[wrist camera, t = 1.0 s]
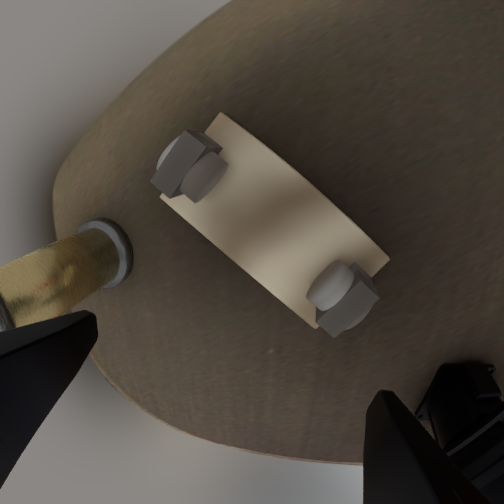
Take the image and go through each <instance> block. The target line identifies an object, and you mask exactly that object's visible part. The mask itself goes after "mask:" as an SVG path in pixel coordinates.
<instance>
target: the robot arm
mask: <svg viewBox="0 0 504 504" xmlns="http://www.w3.org/2000/svg"><path fill="white" fill-rule="evenodd" d="M97 338H98V328H97V319H96V316H95V314H94V313H92V312H89V311H87V310H82V311H78V312H74V313H71V314H67V315H63V316H59V317H55V318H51V319H48V320H44V321H40V322H36V323H32V324H28V325H24V326H21V327H17V328H13V329H9V330H5V331H1V332H0V489H1V487H2V485H3V484H4V482H5V480H6V479H7V477H8V475H9V473H10V472H11V470H12V469H13V467H14V466H15V464H16V462H17V460H18V459H19V457H20V456H21V454H22V453H23V451H24V449H25V448H26V446H27V445H28V443H29V442H30V440H31V439H32V437H33V436H34V434H35V433H36V431H37V430H38V428H39V427H40V425H41V424H42V422H43V421H44V420H45V418H46V417H47V415H48V414H49V412H50V411H51V409H52V408H53V407H54V405H55V403H56V402H57V401H58V399H59V398H60V397H61V395H62V394H63V392H64V391H65V390H66V388H67V387H68V386H69V384H70V383H71V381H72V380H73V379H74V377H75V376H76V374H77V373H78V371H79V370H80V368H81V366H82V365H83V362H84V361H85V359H86V358H87V356H88V354H89V353H90V351H91V349H92V348H93V346H94V344H95V343H96V341H97ZM444 370H445V371H444ZM495 371H496V368H495V367H494V365H451V364H446V365H443V366H441V367H440V369H439V371H438V373H437V375H436V377H435V379H434V381H433V383H432V384H431V386H430V388H429V390H428V392H427V394H426V396H425V397H424V399H423V401H422V403H421V404H420V406H419V408H418V410H417V411H416V413H415V416H414V415H413V414H412V413H411V412H410V411H409V410H408V408H407V407H406V406H405V405H404V404H403V403H402V401H401V400H400V399H399V398H398V397H397V396H396V395H395V393H394V392H392V391H389V390H379V391H378V392H377V394H376V396H375V397H374V399H373V400H372V402H371V404H370V405H369V407H368V409H367V413H366V427H365V440H364V452H363V478H364V479H363V483H364V484H363V504H504V401H503V402H502V400H501V398H500V397H501V395H502V393H501V391H500V389H499V387H498V385H497V384H496V382H495V380H494V379H493V375H494V373H495ZM418 420H430V423H431V427H432V430H433V434H434V437H435V440H434V439H433V437H432V436H431V435H430V434H429V433H428V432H427V430H426V429H425V428H424V427H423V426H422V425H421V423H420V422H419V421H418Z"/></svg>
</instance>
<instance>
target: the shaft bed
mask: <svg viewBox="0 0 504 504" xmlns="http://www.w3.org/2000/svg"><path fill="white" fill-rule="evenodd" d="M156 169H157V171H156V173H155V174H154V176H153V177H152V179H151V181H150V182H151V183H152V184H153V185H154V186H155V187H156V188H158V189H159V190H160V191H161V192H162V194H161V196H160V198H161V199H162V200H163V201H164V202H166V203H167V204H168V205H169V206H170V207H171V208H172V209H174V210H175V211H176V212H177V213H178V214H179V215H181V216H182V217H183V218H184V219H185V220H186V221H187V222H189V223H190V224H191V225H192V226H193V227H194V228H196V229H197V230H198V231H199V232H200V233H201V234H203V235H204V236H205V237H206V238H207V239H208V240H210V241H211V242H212V243H213V244H214V245H215V246H217V247H218V248H219V249H220V250H221V251H222V252H224V253H225V254H226V255H227V256H228V257H229V258H231V259H232V260H233V261H234V262H235V263H237V264H238V265H239V266H240V267H241V268H242V269H244V270H245V271H246V272H247V273H248V274H250V275H251V276H252V277H253V278H254V279H255V280H257V281H258V282H259V283H260V284H261V285H263V286H264V287H265V288H266V289H267V290H269V291H270V292H271V293H272V294H273V295H275V296H276V297H277V298H278V299H279V300H281V301H282V302H283V303H284V304H285V305H287V306H288V307H289V308H290V309H291V310H293V311H294V312H295V313H296V314H297V315H299V316H300V317H301V318H302V319H303V320H305V321H306V322H307V323H308V324H310V325H311V326H312V327H313V328H314V329H317V328H318V327H319V326H320V327H321V328H322V329H324V330H325V331H326V332H327V333H329V334H330V335H331V336H332V337H333V338H335V337H337V336H338V335H339V334H340V333H341V332H343V331H344V330H347V329H350V328H353V327H354V326H356V325H357V324H358V323H360V322H361V321H362V320H363V319H364V318H365V317H366V316H367V314H368V313H369V312H370V310H371V308H372V306H373V304H374V303H375V302H376V301H377V300H378V299H379V295H378V292H377V290H376V287H375V285H374V282H373V280H372V277H373V276H374V275H375V274H376V273H377V272H378V271H379V270H380V269H381V268H382V267H383V266H384V265H385V264H386V263H387V262H388V261H389V260H390V258H389V257H388V255H387V254H386V253H385V252H384V251H383V250H382V249H381V248H380V247H379V246H378V245H377V244H376V243H375V242H374V241H373V240H372V239H371V238H370V237H369V236H368V235H367V234H365V233H364V232H363V231H362V230H361V229H360V228H359V227H358V226H357V225H356V224H355V223H354V222H353V221H352V220H351V219H350V218H349V217H348V216H347V215H346V214H344V213H343V212H342V211H341V210H340V209H339V208H338V207H337V206H336V205H335V204H334V203H333V202H331V201H330V200H329V199H328V198H327V197H326V196H325V195H324V194H323V193H321V192H320V191H319V190H318V189H317V188H316V187H315V186H314V185H312V184H311V183H310V182H309V181H308V180H307V179H305V178H304V177H303V176H302V175H301V174H300V173H299V172H297V171H296V170H295V169H294V168H293V167H291V166H290V165H289V164H288V163H287V162H285V161H284V160H283V159H282V158H281V157H279V156H278V155H277V154H276V153H275V152H273V151H272V150H271V149H270V148H268V147H267V146H266V145H265V144H263V143H262V142H261V141H260V140H258V139H257V138H256V137H255V136H253V135H252V134H251V133H249V132H248V131H247V130H246V129H244V128H243V127H242V126H240V125H239V124H238V123H236V122H235V121H234V120H232V119H231V118H230V117H228V116H227V115H226V114H224V113H222V112H220V113H219V114H218V116H217V117H216V118H215V119H214V121H213V122H212V123H211V125H210V126H209V127H208V129H207V130H206V131H205V133H201V132H195V131H189V130H184V131H183V133H182V134H181V135H180V136H179V137H177V138H176V139H175V140H174V141H172V142H171V143H170V144H169V146H168V147H167V148H166V149H165V150H164V152H163V153H162V155H161V157H160V158H159V161H158V163H157V168H156Z"/></svg>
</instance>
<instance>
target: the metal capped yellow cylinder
mask: <svg viewBox="0 0 504 504" xmlns="http://www.w3.org/2000/svg"><path fill="white" fill-rule="evenodd" d="M132 266H133V251H132V247H131V243H130V241H129V239H128V237H127V235H126V233H125V232H124V231H123V229H122V228H121V227H120V226H119V225H118V224H116V223H115V222H113V221H111V220H109V219H105V218H99V219H95V220H92V221H90V222H87V223H85V224H83V225H82V226H81V227H80V228H79V229H78V231H77V232H76V234H74V235H71V236H69V237H66V238H64V239H62V240H59V241H57V242H55V243H52V244H50V245H48V246H45V247H43V248H41V249H38V250H36V251H34V252H32V253H29V254H27V255H25V256H23V257H21V258H19V259H17V260H14V261H12V262H10V263H8V264H6V265H4V266H2V267H0V332H1V331H5V330H9V329H13V328H17V327H21V326H24V325H28V324H32V323H36V322H40V321H44V320H48V319H51V318H55V317H59V316H62V315H63V314H65V313H66V312H67V311H69V310H70V309H72V308H73V307H74V306H76V305H77V304H79V303H80V302H82V301H83V300H84V299H86V298H87V297H89V296H90V295H92V294H93V293H95V292H96V291H97V290H99V289H100V288H112V287H114V286H116V285H117V284H119V283H120V282H122V281H123V280H124V279H126V278H127V276H128V275H129V274H130V272H131V269H132Z"/></svg>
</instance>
